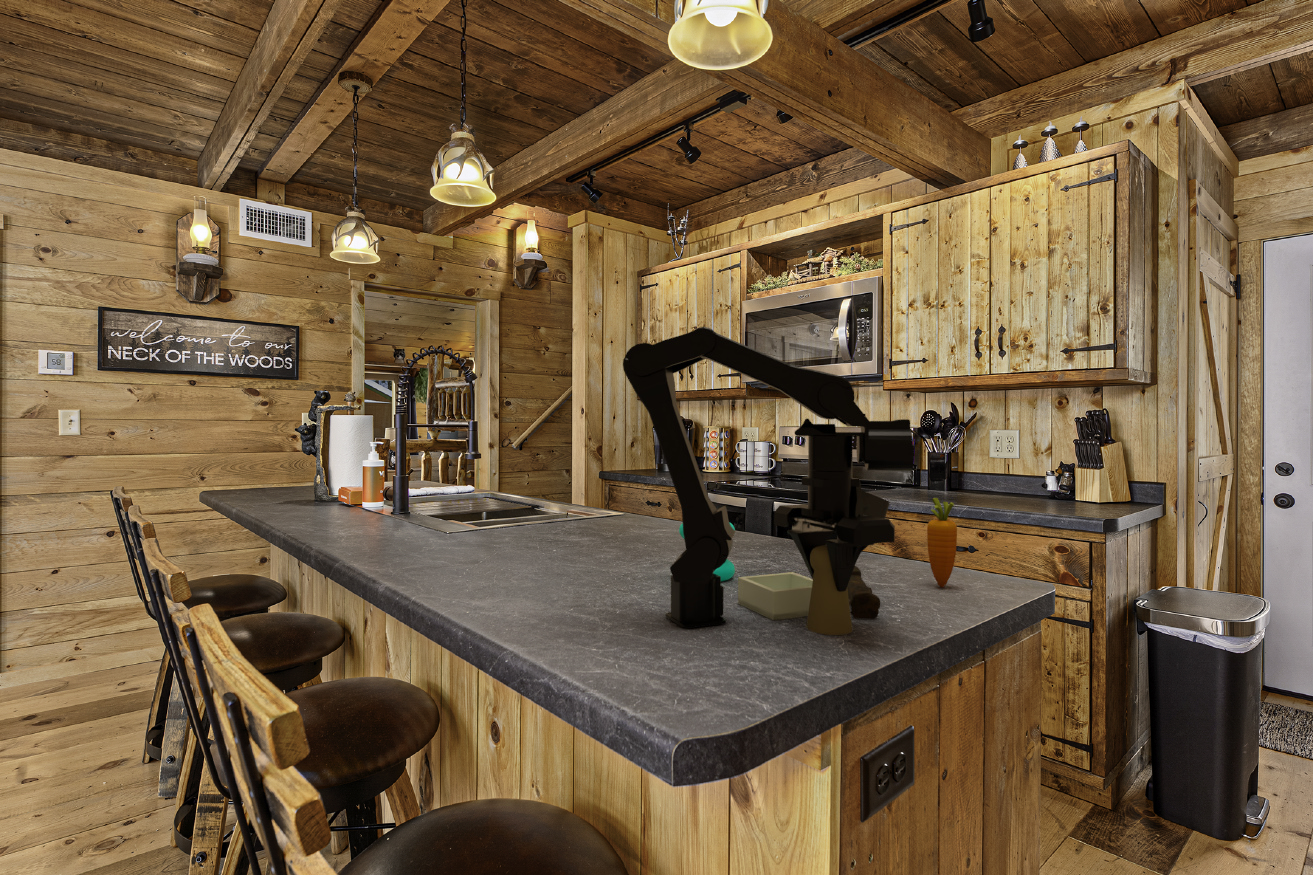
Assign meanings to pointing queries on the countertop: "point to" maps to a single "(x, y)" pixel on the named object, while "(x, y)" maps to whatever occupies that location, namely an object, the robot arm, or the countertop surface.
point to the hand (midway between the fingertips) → (829, 587)
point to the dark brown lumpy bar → (862, 597)
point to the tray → (776, 595)
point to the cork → (827, 598)
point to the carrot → (942, 543)
